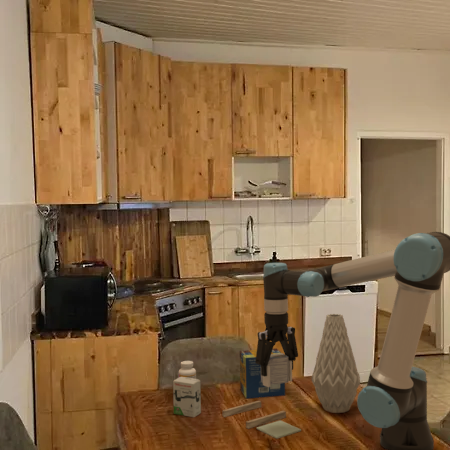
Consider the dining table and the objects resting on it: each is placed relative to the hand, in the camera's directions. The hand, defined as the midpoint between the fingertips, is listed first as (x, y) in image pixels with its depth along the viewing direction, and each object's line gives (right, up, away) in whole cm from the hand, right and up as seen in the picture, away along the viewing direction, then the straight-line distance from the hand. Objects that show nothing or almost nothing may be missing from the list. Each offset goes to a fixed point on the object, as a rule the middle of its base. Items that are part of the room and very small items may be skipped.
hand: (277, 383), depth 185 cm
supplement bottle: (-31, -15, +36) cm, 50 cm away
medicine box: (-1, 0, +1) cm, 2 cm away
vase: (+22, -14, +18) cm, 32 cm away
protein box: (-2, -14, +38) cm, 40 cm away
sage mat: (0, -15, +1) cm, 15 cm away
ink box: (-30, -15, +17) cm, 38 cm away
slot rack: (-7, -15, +13) cm, 21 cm away
